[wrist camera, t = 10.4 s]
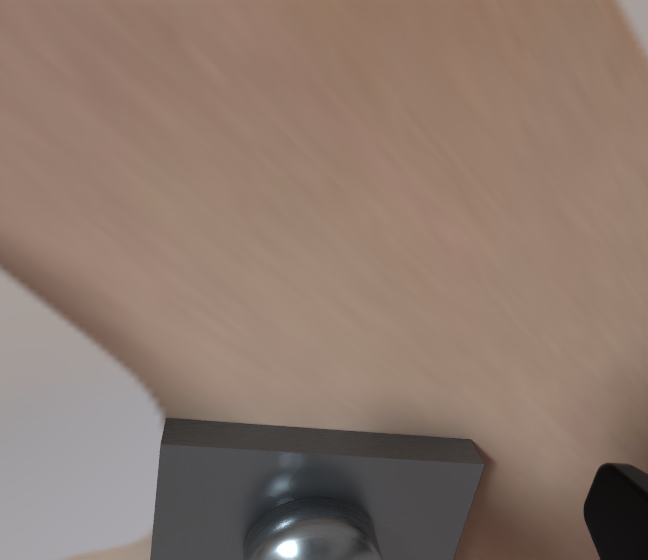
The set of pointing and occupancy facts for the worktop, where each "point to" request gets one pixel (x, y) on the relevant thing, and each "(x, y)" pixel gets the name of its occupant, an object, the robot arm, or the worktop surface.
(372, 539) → the post stand
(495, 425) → the worktop surface
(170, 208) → the worktop surface
